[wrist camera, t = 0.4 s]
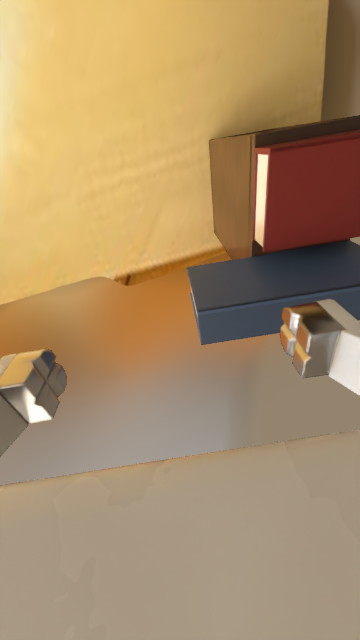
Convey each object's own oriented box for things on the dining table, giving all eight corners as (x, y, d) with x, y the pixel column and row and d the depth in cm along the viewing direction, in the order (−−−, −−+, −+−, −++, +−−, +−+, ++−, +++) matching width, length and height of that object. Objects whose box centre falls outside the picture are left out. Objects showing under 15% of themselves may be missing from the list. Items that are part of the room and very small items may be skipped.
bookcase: (208, 140, 44) (254, 134, 23) (275, 128, 44) (384, 111, 22) (214, 232, 54) (250, 288, 32) (268, 223, 53) (340, 274, 32)
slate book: (186, 267, 30) (197, 312, 22) (349, 240, 29) (422, 276, 21) (190, 295, 32) (201, 345, 24) (341, 270, 32) (404, 313, 24)
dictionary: (254, 147, 23) (270, 147, 20) (380, 125, 23) (417, 121, 20) (251, 240, 29) (263, 252, 25) (354, 223, 28) (379, 233, 25)
